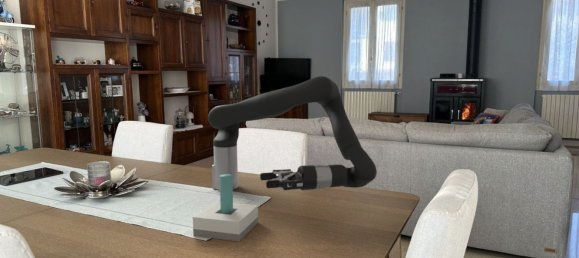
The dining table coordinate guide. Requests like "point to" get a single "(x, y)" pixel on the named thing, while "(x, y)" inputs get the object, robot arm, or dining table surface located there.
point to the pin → (226, 194)
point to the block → (225, 222)
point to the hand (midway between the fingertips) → (263, 180)
